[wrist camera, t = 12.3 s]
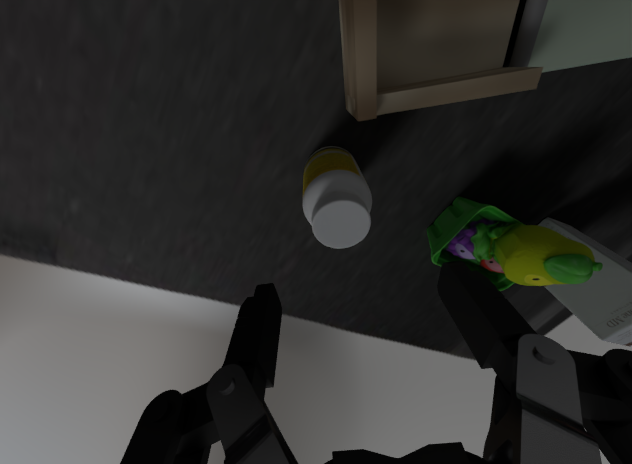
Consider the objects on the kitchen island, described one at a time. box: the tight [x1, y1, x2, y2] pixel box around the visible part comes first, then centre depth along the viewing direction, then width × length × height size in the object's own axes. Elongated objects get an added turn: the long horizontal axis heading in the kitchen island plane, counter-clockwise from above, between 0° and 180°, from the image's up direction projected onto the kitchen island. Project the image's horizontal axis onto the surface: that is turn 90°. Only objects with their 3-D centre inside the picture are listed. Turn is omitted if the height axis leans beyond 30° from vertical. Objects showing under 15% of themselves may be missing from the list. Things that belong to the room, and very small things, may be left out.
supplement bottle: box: [303, 146, 372, 249], centre depth 19 cm, size 5×5×10 cm
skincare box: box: [537, 217, 632, 346], centre depth 24 cm, size 6×4×12 cm
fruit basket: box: [427, 197, 603, 291], centre depth 23 cm, size 11×9×11 cm
